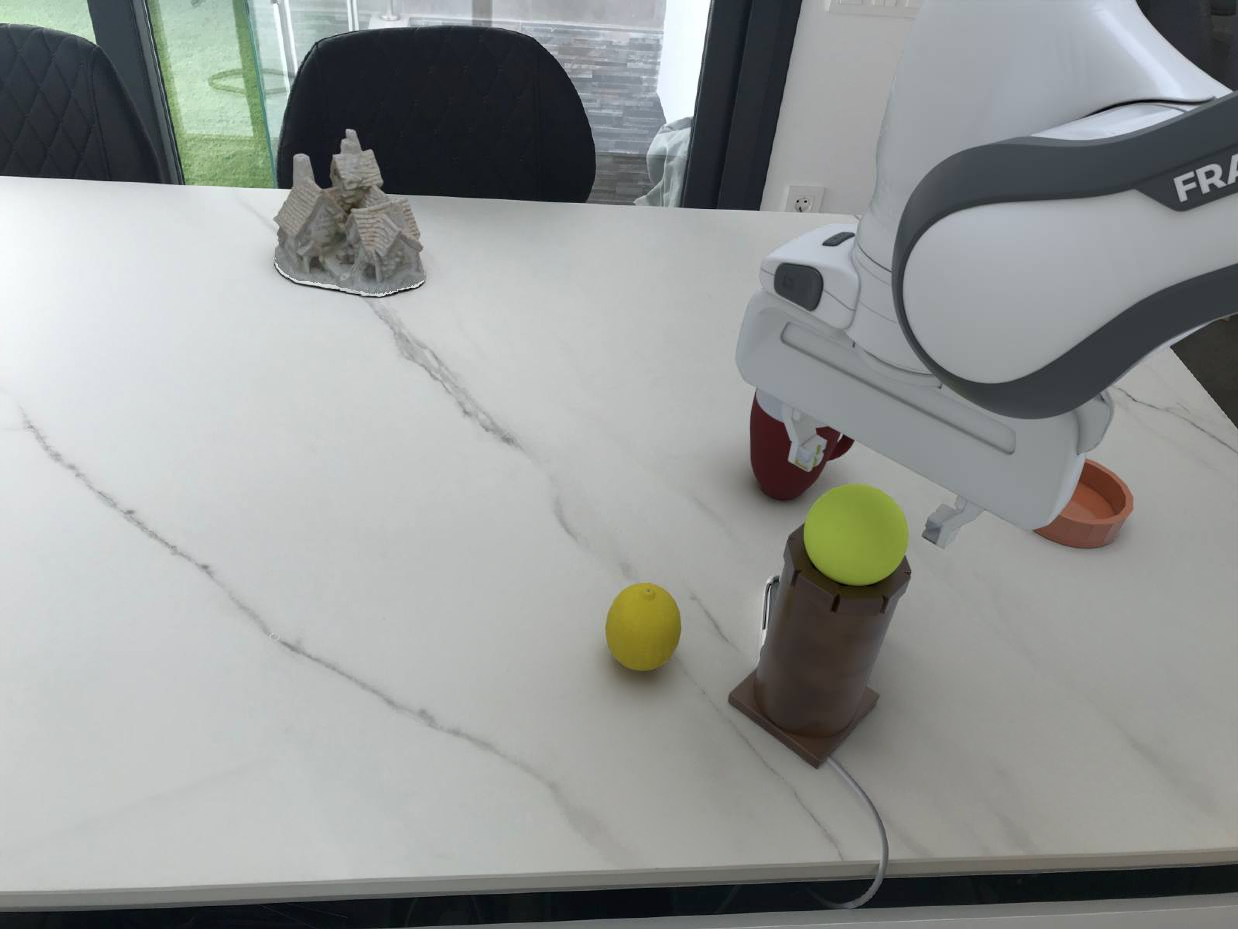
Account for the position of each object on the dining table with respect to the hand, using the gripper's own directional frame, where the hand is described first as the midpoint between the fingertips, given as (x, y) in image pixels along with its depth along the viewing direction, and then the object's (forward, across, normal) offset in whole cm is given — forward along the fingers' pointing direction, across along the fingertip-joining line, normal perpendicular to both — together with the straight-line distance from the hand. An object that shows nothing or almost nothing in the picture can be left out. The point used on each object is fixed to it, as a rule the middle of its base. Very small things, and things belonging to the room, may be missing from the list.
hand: (868, 499), depth 59 cm
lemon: (+20, +11, +6) cm, 24 cm away
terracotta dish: (+20, -5, -36) cm, 42 cm away
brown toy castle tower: (+20, 0, 0) cm, 20 cm away
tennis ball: (+3, 0, 0) cm, 3 cm away
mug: (+20, +15, -20) cm, 32 cm away
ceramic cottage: (+20, +74, -13) cm, 78 cm away
